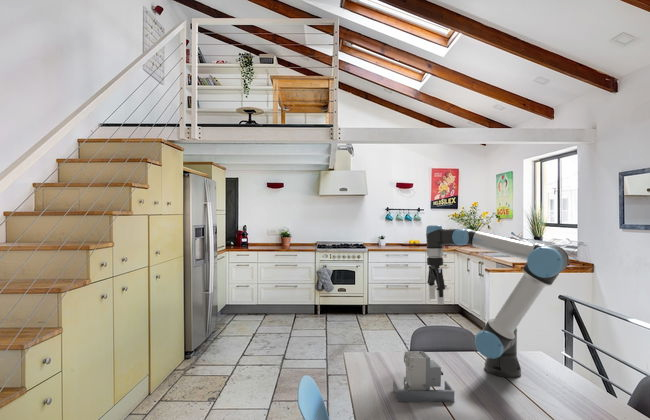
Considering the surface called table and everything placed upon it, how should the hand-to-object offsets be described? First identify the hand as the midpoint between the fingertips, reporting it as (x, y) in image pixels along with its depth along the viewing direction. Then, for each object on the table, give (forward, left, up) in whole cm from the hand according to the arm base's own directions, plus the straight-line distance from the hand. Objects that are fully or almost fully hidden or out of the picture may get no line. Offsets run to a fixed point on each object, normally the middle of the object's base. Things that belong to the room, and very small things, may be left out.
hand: (436, 301), depth 180 cm
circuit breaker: (+14, +29, -30) cm, 44 cm away
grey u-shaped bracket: (+16, +33, -30) cm, 47 cm away
